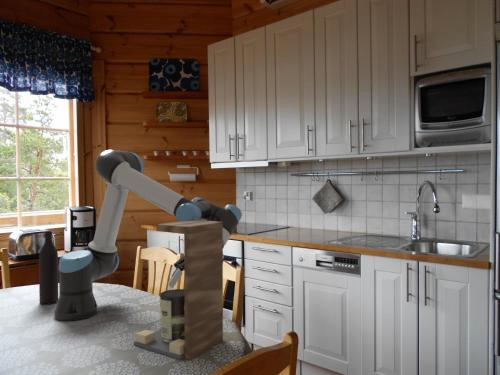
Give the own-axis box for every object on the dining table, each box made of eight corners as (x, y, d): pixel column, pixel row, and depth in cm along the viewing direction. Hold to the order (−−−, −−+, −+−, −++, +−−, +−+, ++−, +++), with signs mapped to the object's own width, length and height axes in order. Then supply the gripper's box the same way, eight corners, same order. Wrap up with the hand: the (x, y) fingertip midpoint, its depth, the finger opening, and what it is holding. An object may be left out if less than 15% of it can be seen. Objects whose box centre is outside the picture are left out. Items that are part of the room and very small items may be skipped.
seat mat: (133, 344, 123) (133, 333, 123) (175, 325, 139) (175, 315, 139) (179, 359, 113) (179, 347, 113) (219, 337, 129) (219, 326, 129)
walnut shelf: (157, 349, 120) (156, 224, 119) (191, 332, 133) (191, 219, 133) (190, 359, 113) (189, 227, 112) (222, 340, 126) (222, 221, 126)
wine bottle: (61, 301, 167) (61, 230, 166) (45, 305, 161) (45, 232, 160) (52, 298, 171) (51, 229, 170) (36, 303, 165) (35, 231, 164)
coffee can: (197, 332, 130) (196, 289, 130) (186, 344, 120) (185, 297, 120) (168, 330, 132) (167, 288, 132) (155, 342, 122) (154, 296, 122)
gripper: (247, 252, 139) (218, 305, 127) (194, 242, 153) (163, 288, 141) (239, 239, 134) (208, 292, 122) (185, 229, 148) (153, 276, 136)
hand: (184, 290), depth 132 cm, fingers open, 13 cm apart
